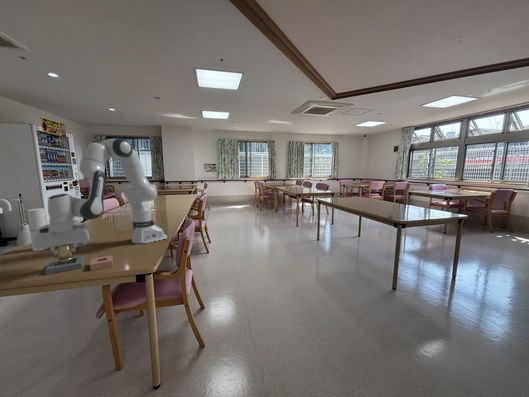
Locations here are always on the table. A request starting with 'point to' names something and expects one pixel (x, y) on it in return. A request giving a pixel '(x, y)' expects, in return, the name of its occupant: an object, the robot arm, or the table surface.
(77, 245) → the french press
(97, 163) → the robot arm
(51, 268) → the socket block
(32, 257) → the table surface
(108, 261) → the small socket
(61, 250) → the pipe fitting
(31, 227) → the cylindrical container
